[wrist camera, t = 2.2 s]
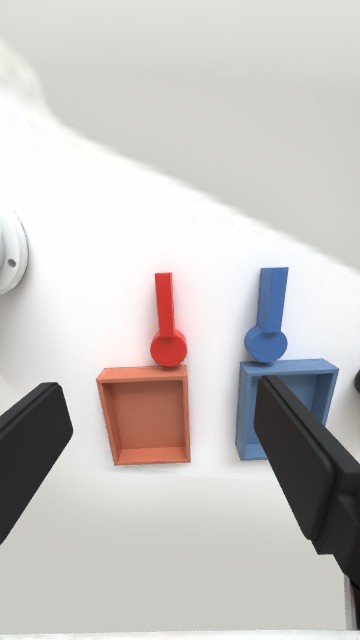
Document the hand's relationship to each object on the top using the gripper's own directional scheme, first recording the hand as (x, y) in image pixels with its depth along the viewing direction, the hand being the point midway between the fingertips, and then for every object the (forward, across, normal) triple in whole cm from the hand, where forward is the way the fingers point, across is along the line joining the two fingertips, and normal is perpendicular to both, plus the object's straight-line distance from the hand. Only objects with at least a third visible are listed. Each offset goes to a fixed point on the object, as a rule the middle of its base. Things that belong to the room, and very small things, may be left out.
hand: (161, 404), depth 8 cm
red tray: (+14, +4, +14) cm, 20 cm away
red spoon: (+14, +1, -1) cm, 14 cm away
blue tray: (+14, -14, +13) cm, 24 cm away
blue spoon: (+14, -11, -1) cm, 18 cm away
